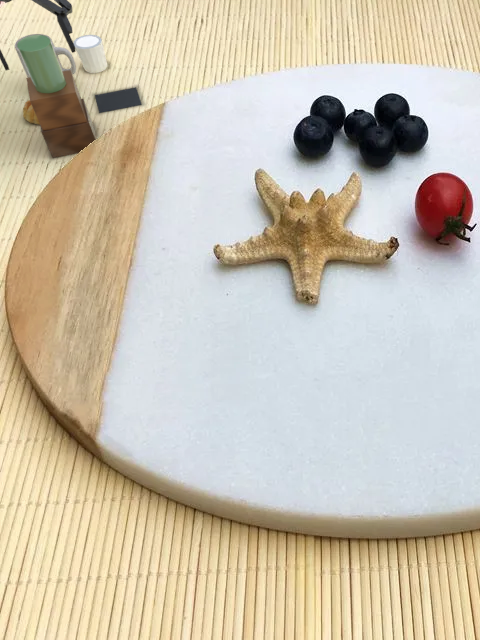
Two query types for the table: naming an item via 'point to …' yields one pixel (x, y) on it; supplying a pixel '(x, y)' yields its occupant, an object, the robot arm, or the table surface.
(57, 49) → the mug
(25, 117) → the pastry
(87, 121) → the walnut block
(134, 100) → the slate mat
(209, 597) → the table surface
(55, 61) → the green canister
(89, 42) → the white cup
